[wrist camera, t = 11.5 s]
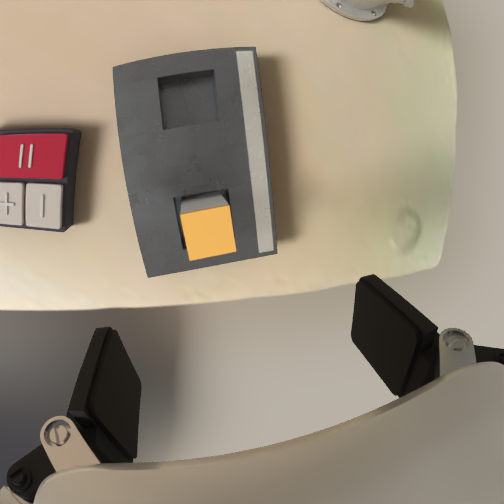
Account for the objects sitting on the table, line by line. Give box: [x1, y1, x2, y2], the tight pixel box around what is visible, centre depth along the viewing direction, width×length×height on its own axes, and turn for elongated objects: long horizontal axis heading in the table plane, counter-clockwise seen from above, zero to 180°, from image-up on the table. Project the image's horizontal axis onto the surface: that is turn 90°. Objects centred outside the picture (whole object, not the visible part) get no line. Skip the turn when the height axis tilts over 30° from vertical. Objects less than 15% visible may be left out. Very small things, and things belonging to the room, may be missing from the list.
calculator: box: [0, 129, 81, 232], centre depth 23 cm, size 11×4×15 cm
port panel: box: [113, 47, 277, 278], centre depth 27 cm, size 14×22×4 cm, turn 6°
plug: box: [180, 191, 236, 261], centre depth 27 cm, size 4×4×8 cm
